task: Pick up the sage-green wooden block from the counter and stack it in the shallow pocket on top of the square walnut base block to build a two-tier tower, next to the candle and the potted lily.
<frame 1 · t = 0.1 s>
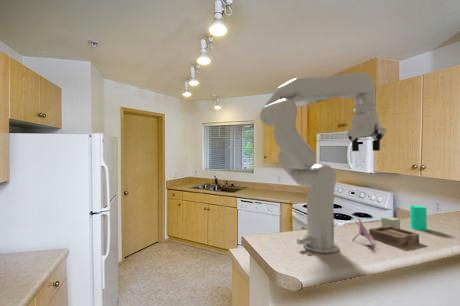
hand: (365, 150, 98), 37 cm above the countertop, tool pointing down, fingers open, 9 cm apart
sage block: (390, 231, 107), on the countertop
base block: (393, 241, 96), on the countertop
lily: (364, 243, 93), on the countertop
candle: (418, 228, 111), on the countertop
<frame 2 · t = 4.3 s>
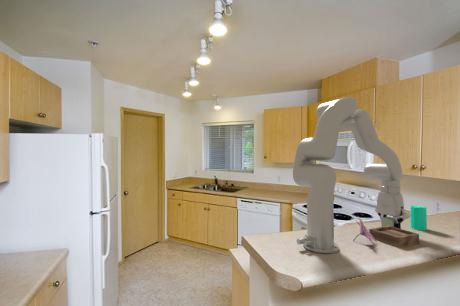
hand: (390, 229, 107), 1 cm above the countertop, tool pointing down, fingers closed on sage block, 5 cm apart
sage block: (390, 231, 107), on the countertop, touching gripper
everything else where it was.
when the fingers open (5 cm above the countertop, at t = 9.8 s): sage block drops 1 cm, resting on base block.
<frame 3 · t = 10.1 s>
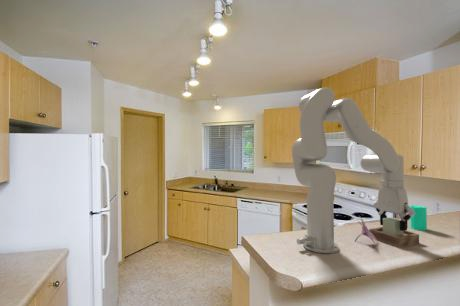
hand: (393, 227, 96), 5 cm above the countertop, tool pointing down, fingers open, 7 cm apart
sage block: (392, 233, 96), point 2 cm above the countertop, touching base block
base block: (393, 241, 96), on the countertop, touching sage block
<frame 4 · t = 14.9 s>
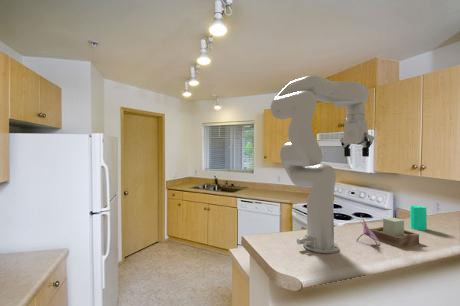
hand: (356, 156, 107), 34 cm above the countertop, tool pointing down, fingers open, 9 cm apart
at the end: sage block 0.4 cm off-centre on the base block, point 3.0 cm above the base block's base; sage block tilted 1°; the gripper is holding nothing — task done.
